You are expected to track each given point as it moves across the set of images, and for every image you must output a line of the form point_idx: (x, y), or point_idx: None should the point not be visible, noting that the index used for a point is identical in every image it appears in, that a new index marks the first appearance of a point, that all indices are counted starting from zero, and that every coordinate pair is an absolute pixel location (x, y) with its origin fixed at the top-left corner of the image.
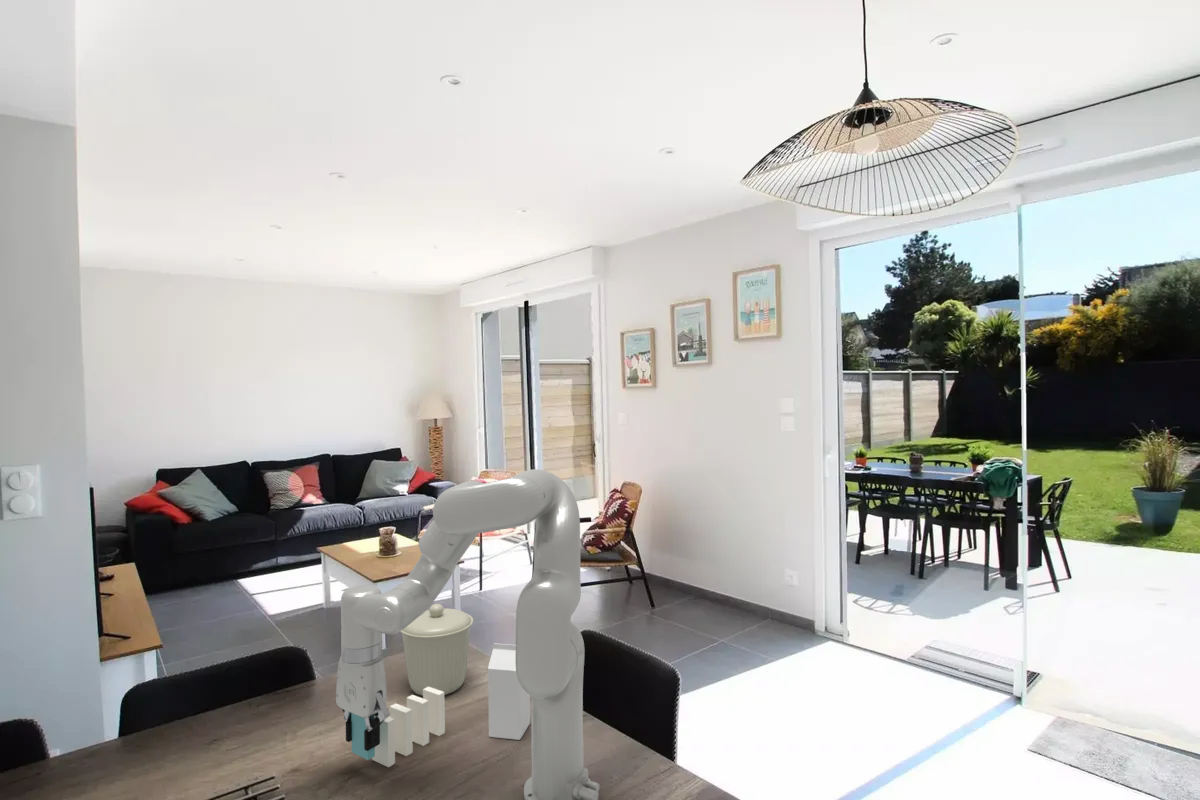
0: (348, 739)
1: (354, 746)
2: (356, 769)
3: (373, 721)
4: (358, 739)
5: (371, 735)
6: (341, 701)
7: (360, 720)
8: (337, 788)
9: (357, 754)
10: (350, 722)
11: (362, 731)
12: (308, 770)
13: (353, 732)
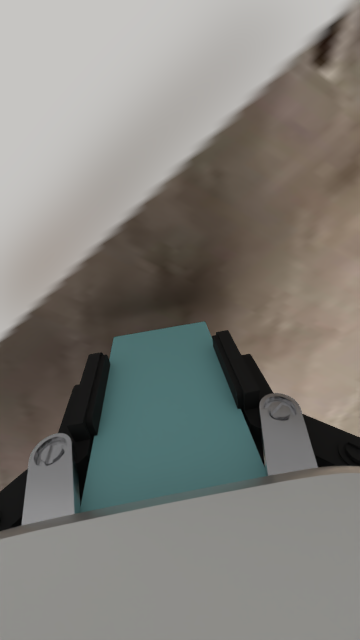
0: (215, 339)
1: (193, 338)
2: (188, 305)
3: (14, 512)
4: (169, 365)
5: (66, 418)
6: (357, 573)
7: (160, 451)
8: (139, 221)
9: (172, 327)
10: (237, 402)
11: (141, 404)
12: (307, 204)
13: (210, 373)
